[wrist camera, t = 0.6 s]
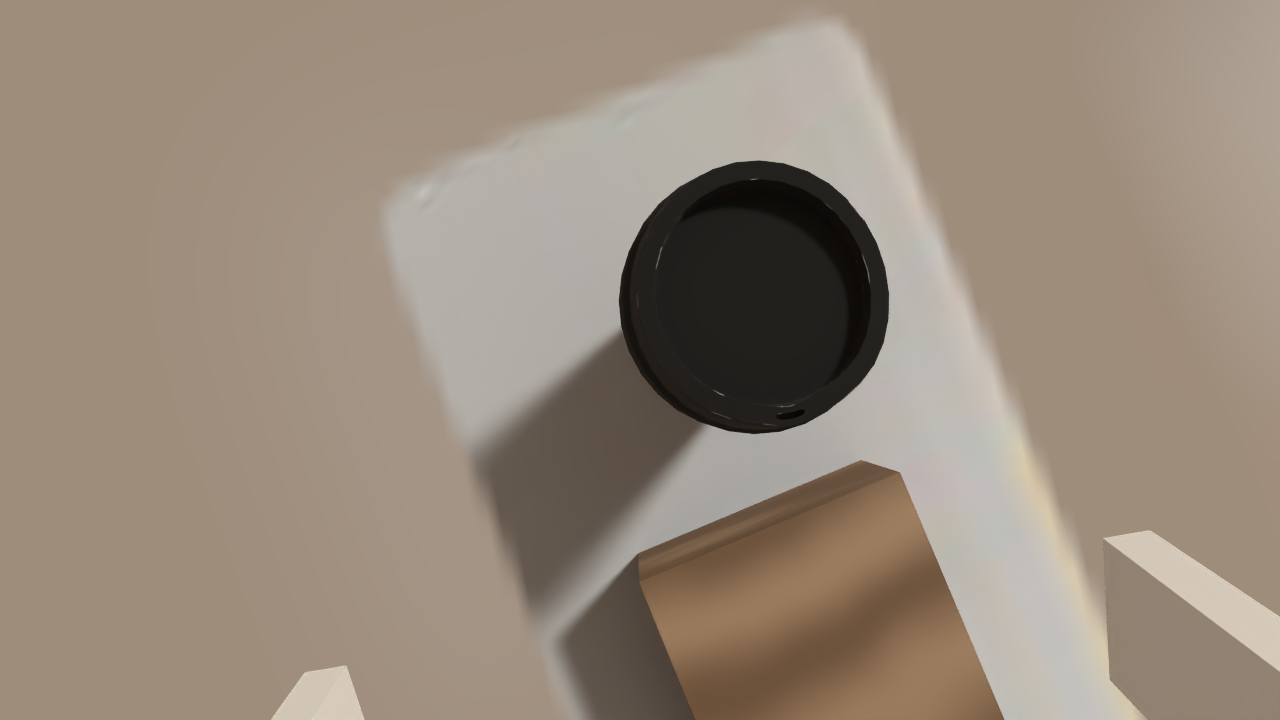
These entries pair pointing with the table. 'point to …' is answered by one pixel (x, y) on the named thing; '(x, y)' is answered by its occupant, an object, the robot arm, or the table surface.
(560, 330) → the table surface
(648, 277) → the coffee cup
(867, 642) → the walnut block
